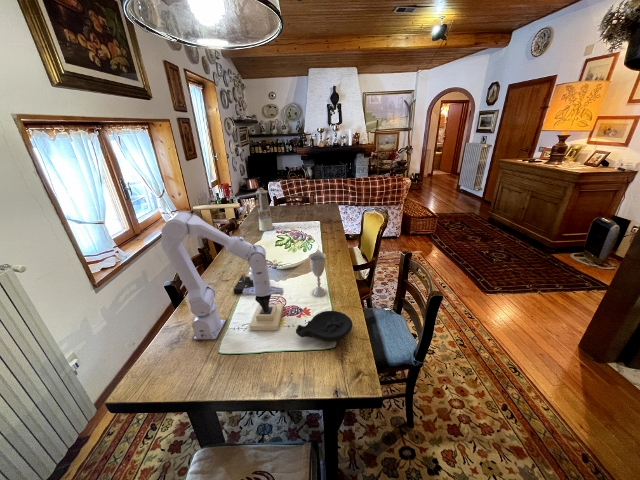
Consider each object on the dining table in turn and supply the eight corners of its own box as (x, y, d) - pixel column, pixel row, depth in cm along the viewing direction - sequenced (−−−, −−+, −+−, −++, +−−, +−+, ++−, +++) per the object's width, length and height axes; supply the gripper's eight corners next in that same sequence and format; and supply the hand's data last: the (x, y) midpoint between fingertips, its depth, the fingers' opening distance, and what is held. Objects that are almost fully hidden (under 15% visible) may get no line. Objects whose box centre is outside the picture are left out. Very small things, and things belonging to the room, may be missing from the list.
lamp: (274, 225, 190) (269, 185, 177) (271, 232, 178) (265, 190, 165) (261, 226, 190) (254, 186, 178) (256, 232, 178) (249, 190, 166)
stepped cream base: (277, 330, 91) (276, 321, 89) (250, 330, 92) (248, 321, 90) (283, 308, 102) (282, 300, 100) (259, 308, 102) (257, 300, 101)
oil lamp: (294, 324, 93) (293, 313, 91) (345, 315, 96) (345, 304, 94) (299, 357, 80) (298, 345, 78) (358, 345, 83) (358, 333, 81)
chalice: (317, 286, 115) (314, 251, 107) (330, 290, 111) (328, 254, 104) (308, 295, 109) (305, 258, 102) (321, 299, 106) (319, 262, 98)
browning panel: (256, 293, 112) (255, 288, 111) (234, 293, 113) (233, 288, 111) (263, 278, 123) (262, 274, 122) (243, 279, 123) (242, 274, 122)
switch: (270, 317, 94) (269, 313, 93) (261, 317, 94) (260, 313, 93) (272, 311, 97) (272, 306, 97) (263, 311, 98) (262, 306, 97)
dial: (253, 282, 116) (252, 275, 114) (251, 283, 115) (249, 276, 113) (246, 279, 118) (244, 272, 117) (243, 280, 117) (242, 273, 116)
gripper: (283, 273, 93) (287, 302, 98) (244, 273, 94) (250, 303, 99) (279, 283, 86) (284, 315, 92) (238, 284, 87) (244, 315, 93)
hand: (266, 310), depth 95 cm, fingers closed, pressing on switch
